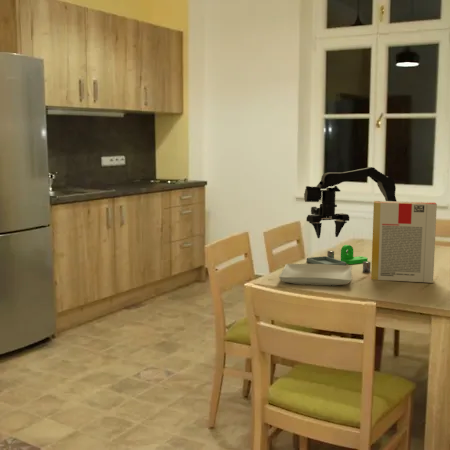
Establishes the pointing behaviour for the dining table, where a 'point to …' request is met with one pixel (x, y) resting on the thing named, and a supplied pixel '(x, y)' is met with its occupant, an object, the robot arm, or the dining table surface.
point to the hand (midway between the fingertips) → (327, 237)
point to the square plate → (316, 274)
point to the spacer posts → (331, 253)
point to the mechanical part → (351, 256)
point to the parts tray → (325, 261)
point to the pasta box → (403, 241)
